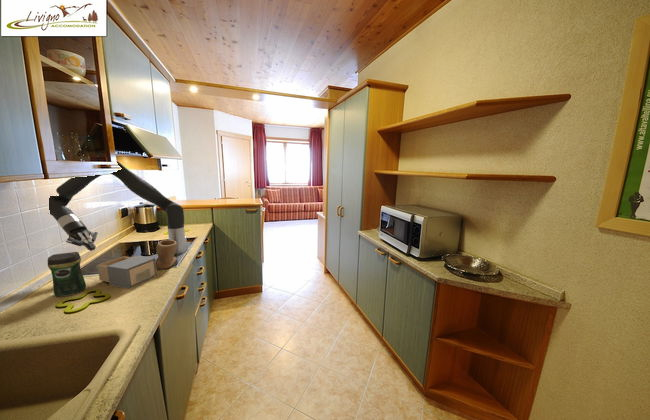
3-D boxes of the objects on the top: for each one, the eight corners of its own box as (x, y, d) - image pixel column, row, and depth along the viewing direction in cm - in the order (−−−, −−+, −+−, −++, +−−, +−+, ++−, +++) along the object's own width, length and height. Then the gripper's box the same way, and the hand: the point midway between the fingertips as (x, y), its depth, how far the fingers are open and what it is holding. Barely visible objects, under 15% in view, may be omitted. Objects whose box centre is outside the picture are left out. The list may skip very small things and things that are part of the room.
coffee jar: (89, 285, 110) (82, 249, 106) (82, 293, 103) (74, 254, 100) (60, 290, 105) (52, 252, 102) (50, 299, 98) (42, 258, 95)
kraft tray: (125, 270, 124) (123, 256, 123) (155, 274, 120) (153, 260, 118) (99, 280, 113) (97, 265, 111) (131, 285, 108) (129, 270, 107)
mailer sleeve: (139, 272, 124) (136, 255, 122) (157, 275, 121) (155, 257, 119) (110, 285, 110) (106, 266, 108) (129, 288, 108) (126, 269, 106)
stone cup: (175, 269, 129) (172, 243, 127) (150, 271, 126) (147, 245, 123) (182, 259, 143) (180, 236, 141) (160, 260, 140) (157, 237, 137)
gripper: (57, 223, 112) (80, 249, 111) (90, 217, 125) (110, 241, 124) (52, 232, 114) (74, 258, 114) (84, 226, 127) (104, 249, 126)
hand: (93, 249), depth 119 cm, fingers closed
